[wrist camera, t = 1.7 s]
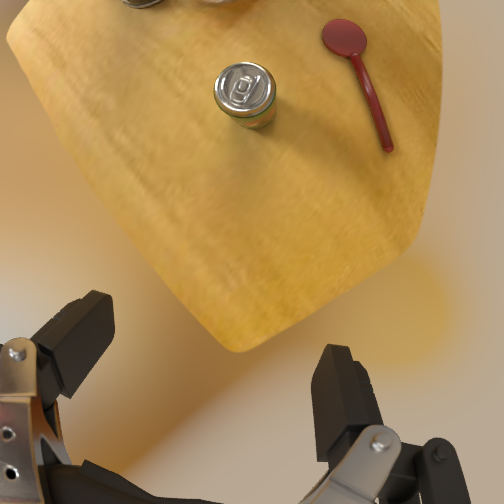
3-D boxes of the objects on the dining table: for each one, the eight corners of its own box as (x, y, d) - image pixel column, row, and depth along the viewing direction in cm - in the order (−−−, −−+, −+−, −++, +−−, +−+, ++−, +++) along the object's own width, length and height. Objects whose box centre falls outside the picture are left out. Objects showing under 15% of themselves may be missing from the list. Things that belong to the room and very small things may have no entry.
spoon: (314, 25, 25) (316, 20, 24) (354, 19, 24) (356, 14, 23) (368, 157, 31) (372, 158, 30) (406, 147, 30) (410, 147, 29)
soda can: (282, 97, 29) (285, 69, 18) (267, 135, 31) (262, 125, 20) (241, 84, 29) (224, 51, 18) (226, 121, 31) (201, 106, 20)
